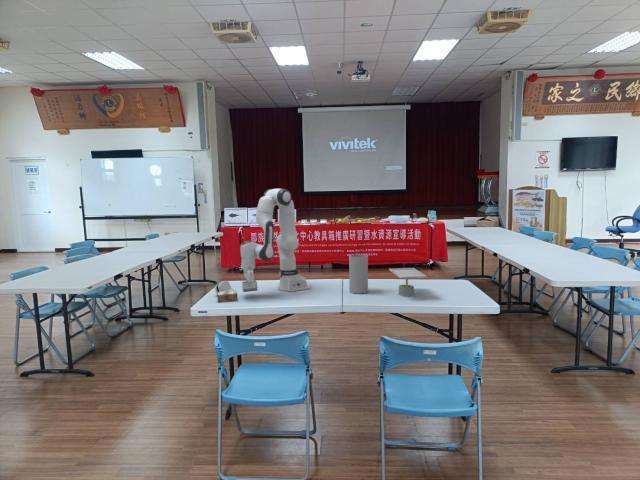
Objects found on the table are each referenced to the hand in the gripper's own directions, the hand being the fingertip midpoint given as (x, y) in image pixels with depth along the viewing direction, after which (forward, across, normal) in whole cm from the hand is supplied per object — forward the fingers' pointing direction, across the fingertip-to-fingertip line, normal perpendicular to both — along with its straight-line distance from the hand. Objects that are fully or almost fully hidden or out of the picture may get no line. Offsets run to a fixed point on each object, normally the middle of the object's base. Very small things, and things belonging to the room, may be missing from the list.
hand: (249, 286), depth 284 cm
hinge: (+7, +15, +16) cm, 23 cm away
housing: (+3, 0, 0) cm, 3 cm away
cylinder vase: (+10, -12, -72) cm, 74 cm away
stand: (+7, -1, +15) cm, 17 cm away
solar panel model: (+10, -30, -99) cm, 104 cm away
